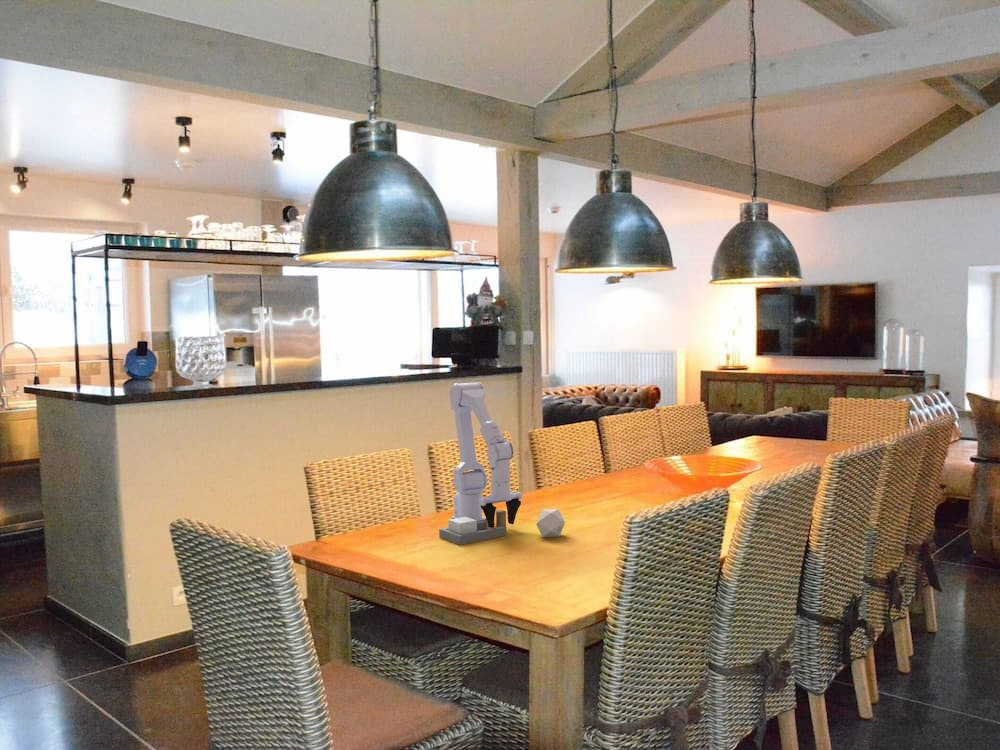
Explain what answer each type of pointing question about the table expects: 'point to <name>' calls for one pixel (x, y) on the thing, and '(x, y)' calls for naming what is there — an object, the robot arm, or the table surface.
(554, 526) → the die
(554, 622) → the table surface
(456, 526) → the tethered block
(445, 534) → the dark grey tray
